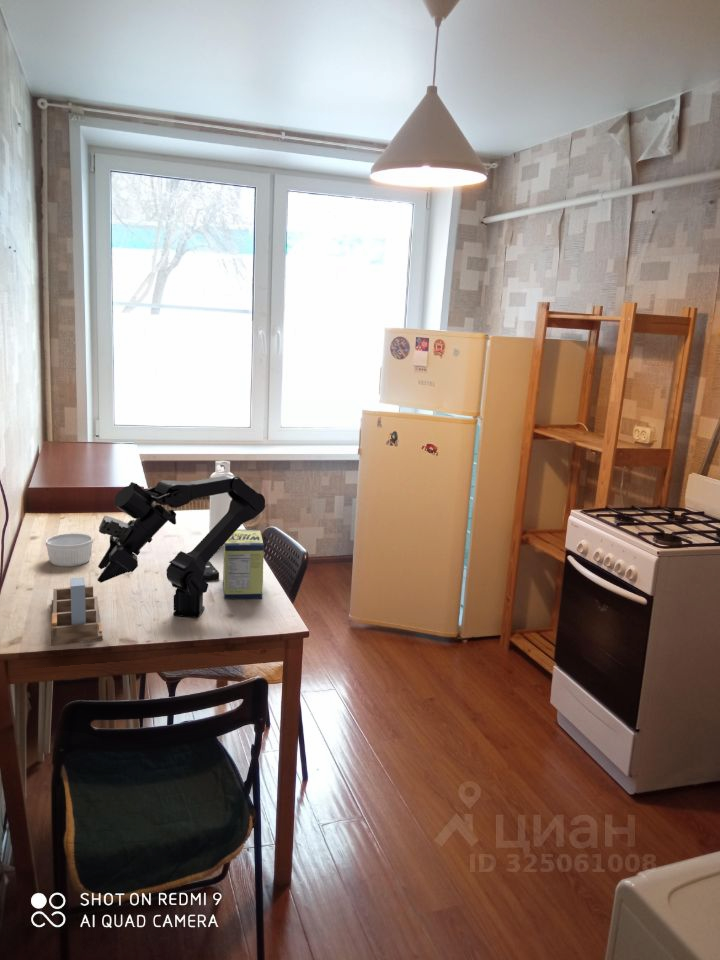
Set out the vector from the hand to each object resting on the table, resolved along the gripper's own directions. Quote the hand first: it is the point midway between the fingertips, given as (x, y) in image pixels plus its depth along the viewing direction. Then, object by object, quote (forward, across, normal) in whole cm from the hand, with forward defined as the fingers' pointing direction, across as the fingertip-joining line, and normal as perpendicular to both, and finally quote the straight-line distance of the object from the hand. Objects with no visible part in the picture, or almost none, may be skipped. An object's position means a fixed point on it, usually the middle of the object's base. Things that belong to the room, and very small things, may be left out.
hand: (99, 574), depth 168 cm
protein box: (-15, -18, +37) cm, 44 cm away
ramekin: (+16, -51, +3) cm, 53 cm away
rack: (+14, -4, +5) cm, 15 cm away
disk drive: (-7, -34, +29) cm, 45 cm away
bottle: (-15, -63, +37) cm, 75 cm away
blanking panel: (+12, +4, +5) cm, 14 cm away
